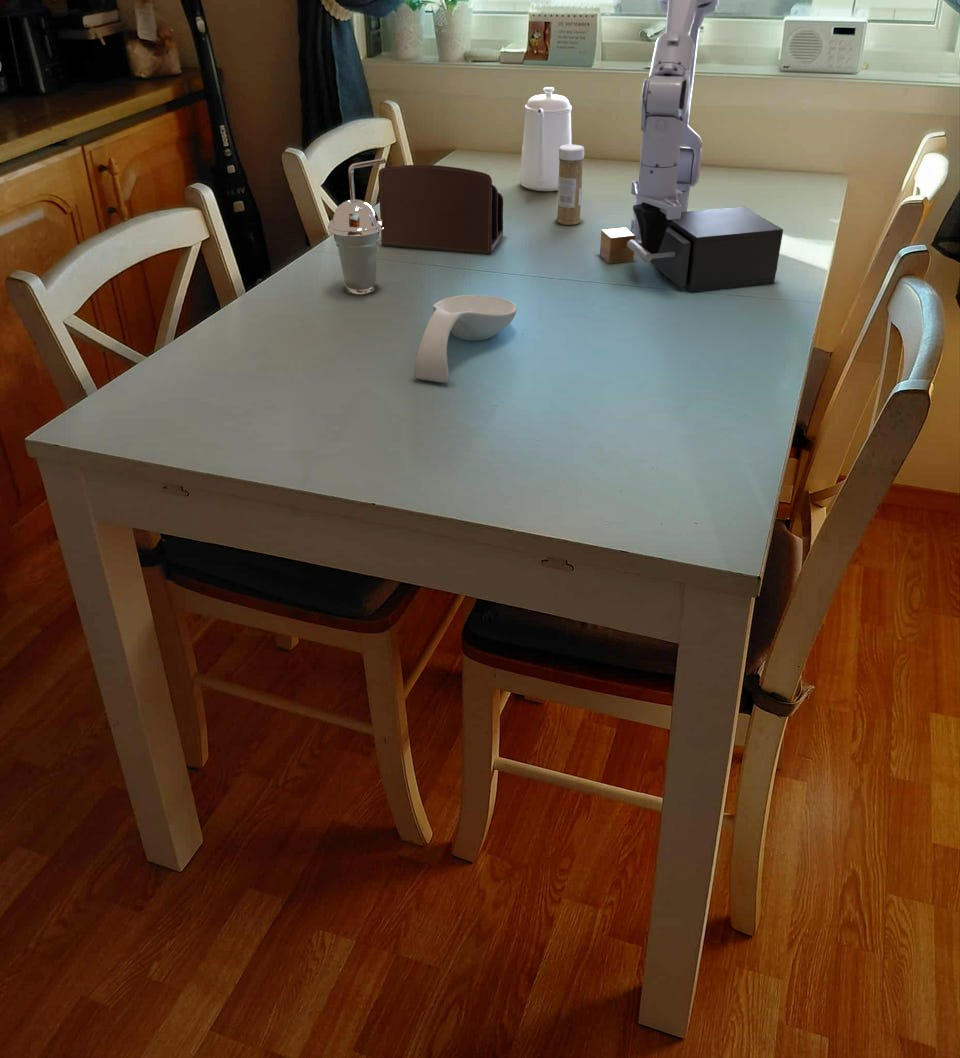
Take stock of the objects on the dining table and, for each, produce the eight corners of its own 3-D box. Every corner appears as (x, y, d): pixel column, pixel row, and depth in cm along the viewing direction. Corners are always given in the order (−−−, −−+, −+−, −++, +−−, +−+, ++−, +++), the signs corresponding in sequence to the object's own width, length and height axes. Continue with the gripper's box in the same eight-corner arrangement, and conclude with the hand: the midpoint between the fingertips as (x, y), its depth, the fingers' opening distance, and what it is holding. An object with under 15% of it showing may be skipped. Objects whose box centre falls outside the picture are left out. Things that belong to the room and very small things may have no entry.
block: (608, 263, 163) (610, 237, 161) (599, 255, 167) (601, 229, 164) (633, 261, 164) (635, 235, 162) (623, 253, 168) (625, 227, 165)
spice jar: (585, 222, 182) (589, 146, 174) (569, 227, 179) (572, 151, 172) (567, 216, 185) (570, 142, 177) (550, 222, 182) (553, 146, 174)
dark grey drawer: (647, 290, 151) (651, 246, 147) (619, 265, 160) (622, 223, 156) (757, 278, 155) (764, 235, 151) (724, 255, 164) (730, 214, 160)
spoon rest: (450, 312, 146) (449, 265, 142) (526, 321, 143) (527, 273, 139) (390, 378, 128) (387, 326, 124) (476, 390, 125) (475, 337, 121)
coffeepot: (508, 201, 193) (510, 99, 182) (529, 169, 213) (531, 75, 202) (563, 204, 191) (567, 101, 180) (578, 171, 211) (583, 77, 201)
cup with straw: (355, 276, 159) (345, 147, 148) (401, 286, 155) (394, 155, 144) (322, 292, 153) (309, 160, 142) (369, 303, 149) (359, 168, 138)
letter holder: (491, 255, 167) (491, 170, 159) (380, 246, 171) (375, 163, 163) (503, 237, 175) (504, 155, 167) (398, 229, 179) (393, 149, 171)
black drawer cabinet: (689, 292, 152) (696, 237, 148) (657, 265, 162) (662, 213, 158) (774, 283, 155) (783, 229, 151) (737, 257, 166) (744, 206, 161)
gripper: (705, 173, 141) (693, 265, 149) (664, 149, 153) (655, 236, 160) (659, 176, 140) (650, 269, 147) (621, 152, 151) (615, 239, 159)
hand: (650, 252), depth 154 cm, fingers closed
